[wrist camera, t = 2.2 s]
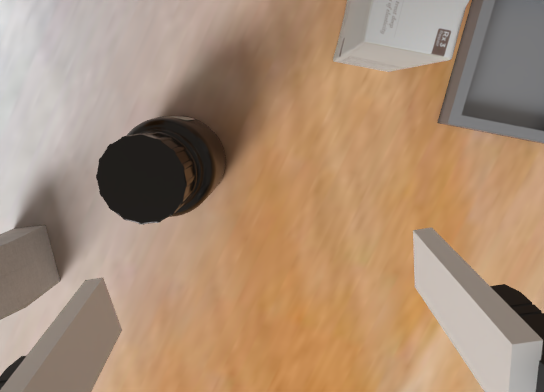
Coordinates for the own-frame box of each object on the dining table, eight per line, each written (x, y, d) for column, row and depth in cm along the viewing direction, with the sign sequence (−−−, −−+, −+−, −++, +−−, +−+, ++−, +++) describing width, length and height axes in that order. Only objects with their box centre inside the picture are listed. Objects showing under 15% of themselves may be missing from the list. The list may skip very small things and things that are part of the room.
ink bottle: (182, 94, 39) (136, 88, 27) (246, 155, 40) (229, 175, 28) (123, 163, 40) (55, 185, 29) (185, 219, 42) (145, 263, 30)
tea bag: (45, 224, 42) (-28, 259, 33) (60, 281, 44) (-5, 330, 34) (14, 228, 43) (-68, 264, 33) (29, 284, 44) (-44, 333, 34)
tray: (595, 4, 35) (618, -4, 33) (545, 143, 38) (563, 146, 36) (477, -19, 35) (491, -29, 33) (437, 122, 38) (447, 123, 36)
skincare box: (350, -27, 35) (393, -120, 21) (414, -15, 35) (502, -100, 21) (331, 66, 37) (358, 40, 23) (392, 78, 37) (457, 59, 23)
